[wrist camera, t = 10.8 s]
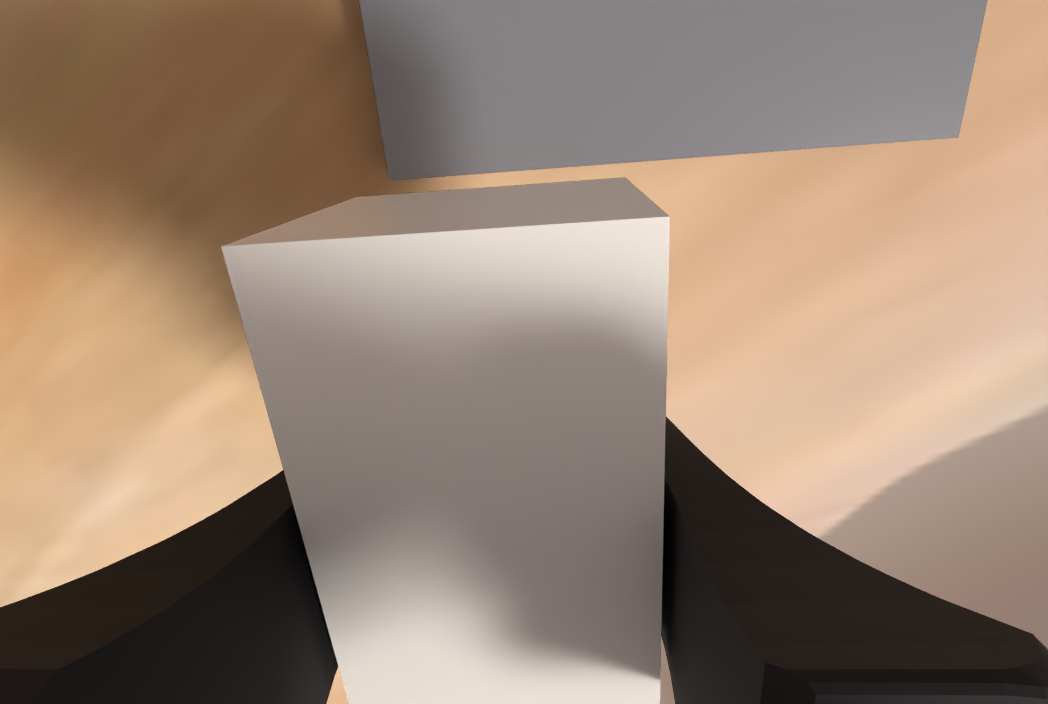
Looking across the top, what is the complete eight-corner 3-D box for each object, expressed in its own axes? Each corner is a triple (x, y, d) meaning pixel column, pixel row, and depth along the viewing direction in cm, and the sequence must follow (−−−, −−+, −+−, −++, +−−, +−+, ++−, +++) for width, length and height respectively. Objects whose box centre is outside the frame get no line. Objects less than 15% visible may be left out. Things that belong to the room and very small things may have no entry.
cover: (625, 177, 10) (669, 216, 6) (628, 599, 14) (657, 805, 10) (355, 197, 11) (220, 246, 6) (429, 601, 14) (374, 799, 10)
